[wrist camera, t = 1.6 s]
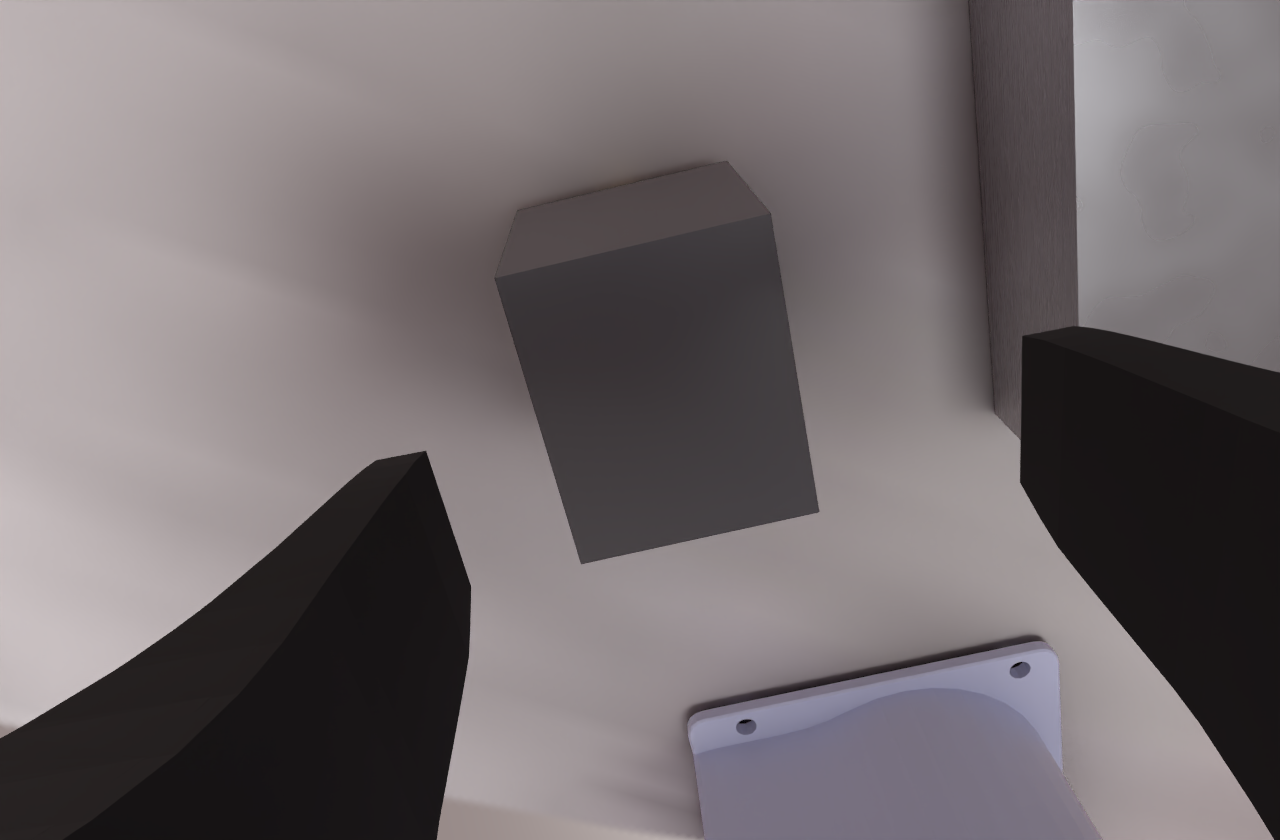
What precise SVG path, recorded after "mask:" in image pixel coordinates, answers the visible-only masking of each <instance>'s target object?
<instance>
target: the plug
mask: <svg viewBox="0 0 1280 840" xmlns="http://www.w3.org/2000/svg"><path fill="white" fill-rule="evenodd" d="M495 281H496V284H497V288H498V291H499V294H500V298H501V301H502V304H503V308H504V311H505V314H506V317H507V321H508V324H509V327H510V331H511V334H512V337H513V341H514V344H515V347H516V350H517V354H518V357H519V360H520V364H521V367H522V370H523V374H524V377H525V380H526V384H527V387H528V390H529V393H530V397H531V400H532V403H533V407H534V410H535V413H536V417H537V420H538V423H539V427H540V430H541V433H542V436H543V440H544V443H545V446H546V450H547V453H548V456H549V460H550V463H551V466H552V469H553V473H554V476H555V479H556V483H557V486H558V489H559V493H560V496H561V499H562V503H563V506H564V509H565V512H566V516H567V519H568V522H569V526H570V529H571V532H572V536H573V539H574V542H575V545H576V549H577V552H578V555H579V559H580V562H581V564H584V563H589V562H593V561H598V560H603V559H607V558H612V557H616V556H621V555H626V554H630V553H635V552H639V551H644V550H648V549H653V548H658V547H662V546H667V545H671V544H676V543H680V542H685V541H690V540H694V539H699V538H703V537H708V536H712V535H717V534H722V533H726V532H731V531H735V530H740V529H745V528H749V527H754V526H758V525H763V524H767V523H772V522H777V521H781V520H786V519H790V518H795V517H799V516H804V515H809V514H813V513H818V512H819V508H818V501H817V495H816V489H815V483H814V477H813V471H812V465H811V459H810V452H809V446H808V440H807V434H806V428H805V422H804V416H803V409H802V403H801V397H800V391H799V385H798V379H797V373H796V367H795V360H794V354H793V348H792V342H791V336H790V330H789V324H788V317H787V311H786V305H785V299H784V293H783V287H782V281H781V275H780V268H779V262H778V256H777V250H776V244H775V238H774V232H773V225H772V219H771V213H770V212H769V211H768V210H767V209H766V207H765V206H764V205H763V204H762V202H761V201H760V200H759V199H758V198H757V196H756V195H755V194H754V193H753V192H752V190H751V189H750V188H749V187H748V186H747V184H746V183H745V182H744V181H743V180H742V178H741V177H740V176H739V175H738V174H737V172H736V171H735V170H734V169H733V168H732V166H731V165H730V164H729V163H728V162H727V161H723V162H719V163H715V164H711V165H707V166H702V167H698V168H694V169H690V170H686V171H681V172H677V173H673V174H669V175H665V176H660V177H656V178H652V179H648V180H644V181H640V182H635V183H631V184H627V185H623V186H619V187H614V188H610V189H606V190H602V191H598V192H593V193H589V194H585V195H581V196H577V197H572V198H568V199H564V200H560V201H556V202H551V203H547V204H543V205H539V206H535V207H530V208H526V209H522V210H518V211H517V213H516V216H515V219H514V222H513V225H512V228H511V231H510V234H509V237H508V240H507V243H506V246H505V249H504V252H503V255H502V258H501V261H500V264H499V267H498V270H497V273H496V275H495Z"/></svg>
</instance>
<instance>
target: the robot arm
mask: <svg viewBox="0 0 1280 840" xmlns="http://www.w3.org/2000/svg"><path fill="white" fill-rule="evenodd" d="M1020 483H1021V485H1022V487H1023V488H1024V490H1025V492H1026V494H1027V496H1028V497H1029V499H1030V501H1031V503H1032V504H1033V506H1034V508H1035V510H1036V512H1037V513H1038V515H1039V517H1040V519H1041V520H1042V522H1043V523H1044V525H1045V527H1046V528H1047V530H1048V532H1049V533H1050V535H1051V536H1052V538H1053V540H1054V541H1055V543H1056V545H1057V546H1058V548H1059V549H1060V550H1061V551H1062V553H1063V554H1064V555H1065V556H1066V558H1067V559H1068V560H1069V562H1070V563H1071V564H1072V565H1073V567H1074V568H1075V569H1076V570H1077V572H1078V573H1079V574H1080V575H1081V577H1082V578H1083V579H1084V580H1085V581H1086V583H1087V584H1088V585H1089V586H1090V588H1091V589H1092V590H1093V591H1094V593H1095V594H1096V595H1097V596H1098V598H1099V599H1100V600H1101V601H1102V602H1103V604H1104V605H1105V606H1106V607H1107V608H1108V610H1109V611H1110V612H1111V613H1112V614H1113V616H1114V617H1115V618H1116V619H1117V621H1118V622H1119V623H1120V624H1121V625H1122V627H1123V628H1124V629H1125V630H1126V631H1127V633H1128V634H1129V635H1130V636H1131V637H1132V639H1133V640H1134V641H1135V642H1136V644H1137V645H1138V646H1139V647H1140V648H1141V650H1142V651H1143V652H1144V653H1145V654H1146V656H1147V657H1148V658H1149V659H1150V661H1151V662H1152V663H1153V664H1154V665H1155V667H1156V668H1157V669H1158V670H1159V671H1160V673H1161V674H1162V675H1163V676H1164V677H1165V679H1166V680H1167V681H1168V682H1169V684H1170V685H1171V686H1172V687H1173V688H1174V690H1175V691H1176V692H1177V694H1178V695H1179V696H1180V698H1181V699H1182V700H1183V702H1184V703H1185V704H1186V706H1187V707H1188V708H1189V710H1190V711H1191V712H1192V714H1193V715H1194V716H1195V718H1196V719H1197V720H1198V722H1199V723H1200V725H1201V726H1202V728H1203V729H1204V731H1205V732H1206V734H1207V735H1208V737H1209V738H1210V740H1211V741H1212V743H1213V744H1214V746H1215V747H1216V749H1217V751H1218V752H1219V754H1220V755H1221V757H1222V758H1223V760H1224V761H1225V763H1226V764H1227V766H1228V767H1229V769H1230V770H1231V772H1232V773H1233V775H1234V776H1235V778H1236V779H1237V781H1238V783H1239V784H1240V786H1241V787H1242V789H1243V790H1244V792H1245V793H1246V795H1247V796H1248V798H1249V799H1250V801H1251V802H1252V804H1253V806H1254V807H1255V809H1256V811H1257V812H1258V814H1259V815H1260V817H1261V819H1262V820H1263V822H1264V824H1265V825H1266V827H1267V828H1268V830H1269V832H1270V833H1271V835H1272V837H1273V838H1274V840H1280V372H1275V371H1271V370H1267V369H1263V368H1258V367H1254V366H1250V365H1246V364H1242V363H1238V362H1234V361H1230V360H1226V359H1222V358H1218V357H1214V356H1210V355H1206V354H1202V353H1198V352H1194V351H1190V350H1186V349H1182V348H1178V347H1174V346H1170V345H1166V344H1163V343H1159V342H1155V341H1151V340H1147V339H1143V338H1138V337H1134V336H1130V335H1125V334H1121V333H1116V332H1112V331H1107V330H1101V329H1095V328H1089V327H1080V326H1071V327H1066V328H1060V329H1055V330H1050V331H1045V332H1040V333H1034V334H1029V335H1024V336H1022V387H1021V460H1020ZM470 613H471V585H470V582H469V579H468V576H467V573H466V570H465V567H464V564H463V561H462V558H461V555H460V552H459V549H458V546H457V543H456V540H455V537H454V534H453V531H452V528H451V525H450V522H449V519H448V516H447V513H446V510H445V507H444V504H443V501H442V498H441V495H440V492H439V489H438V486H437V483H436V480H435V477H434V474H433V471H432V468H431V465H430V462H429V459H428V456H427V453H426V451H422V452H417V453H412V454H407V455H401V456H396V457H391V458H386V459H381V460H376V461H375V462H373V463H372V464H370V465H369V466H367V467H366V468H365V469H364V470H362V471H361V472H360V473H359V474H357V475H356V476H355V477H354V478H353V479H351V480H350V481H349V482H348V483H347V484H346V485H345V486H343V487H342V488H341V489H340V490H339V491H338V492H337V493H336V494H335V495H333V496H332V497H331V498H330V499H329V500H328V501H327V502H326V503H325V504H324V505H323V506H321V507H320V508H319V509H318V510H317V511H316V512H315V513H314V514H313V515H312V516H310V517H309V518H308V519H307V520H306V521H305V522H304V523H303V524H302V525H300V526H299V527H298V528H297V529H296V530H295V531H294V532H293V533H292V534H291V535H289V536H288V537H287V538H286V539H285V540H284V541H283V542H282V543H281V544H280V545H278V546H277V547H276V548H275V549H274V550H273V551H271V552H270V553H269V554H268V555H267V556H265V557H264V558H263V559H262V560H261V561H259V562H258V563H257V564H256V565H255V566H253V567H252V568H251V569H250V570H249V571H247V572H246V573H245V574H244V575H243V576H241V577H240V578H239V579H238V580H237V581H235V582H234V583H233V584H232V585H231V586H229V587H228V588H227V589H226V590H225V591H223V592H222V593H221V594H220V595H219V596H217V597H216V598H215V599H214V600H213V601H211V602H210V603H209V604H208V605H206V606H205V607H204V608H202V609H201V610H200V611H198V612H197V613H196V614H195V615H193V616H192V617H191V618H189V619H188V620H187V621H185V622H184V623H182V624H181V625H180V626H178V627H177V628H176V629H174V630H173V631H172V632H170V633H169V634H167V635H166V636H164V637H163V638H162V639H160V640H159V641H157V642H156V643H154V644H153V645H151V646H150V647H149V648H147V649H146V650H144V651H143V652H141V653H140V654H138V655H137V656H136V657H134V658H133V659H131V660H130V661H128V662H127V663H125V664H124V665H122V666H121V667H119V668H118V669H116V670H115V671H113V672H112V673H110V674H108V675H107V676H105V677H103V678H102V679H100V680H98V681H97V682H95V683H93V684H92V685H90V686H88V687H87V688H85V689H83V690H82V691H80V692H78V693H77V694H75V695H73V696H72V697H70V698H68V699H67V700H65V701H63V702H62V703H60V704H58V705H57V706H55V707H54V708H52V709H50V710H49V711H47V712H45V713H44V714H42V715H40V716H39V717H37V718H35V719H34V720H32V721H30V722H29V723H27V724H25V725H24V726H22V727H20V728H18V729H17V730H15V731H13V732H11V733H9V734H8V735H6V736H4V737H2V738H0V840H437V833H438V826H439V820H440V814H441V808H442V803H443V798H444V792H445V787H446V782H447V776H448V771H449V765H450V760H451V754H452V749H453V744H454V738H455V733H456V727H457V722H458V716H459V711H460V705H461V700H462V694H463V688H464V682H465V677H466V671H467V665H468V658H469V641H470ZM1018 662H1022V663H1021V664H1020V665H1019V666H1017V667H1015V668H1011V667H1012V666H1013V665H1014V664H1016V663H1018ZM744 719H751V722H748V723H746V724H740V723H739V721H741V720H744ZM687 731H688V738H689V742H690V745H691V749H692V753H693V757H694V765H695V772H696V779H697V787H698V794H699V801H700V809H701V816H702V823H703V830H704V838H705V840H1103V839H1102V837H1101V836H1100V834H1099V832H1098V831H1097V829H1096V827H1095V826H1094V824H1093V823H1092V821H1091V819H1090V818H1089V816H1088V814H1087V813H1086V811H1085V809H1084V808H1083V806H1082V804H1081V803H1080V801H1079V800H1078V798H1077V796H1076V795H1075V793H1074V791H1073V790H1072V788H1071V786H1070V785H1069V783H1068V781H1067V780H1066V778H1065V776H1064V775H1063V765H1062V736H1061V706H1060V677H1059V659H1058V656H1057V654H1056V653H1055V651H1054V650H1053V648H1052V647H1051V646H1050V645H1049V644H1048V643H1045V642H1042V641H1034V642H1028V643H1024V644H1019V645H1014V646H1009V647H1005V648H1000V649H995V650H990V651H985V652H981V653H976V654H971V655H966V656H962V657H957V658H952V659H947V660H942V661H938V662H933V663H928V664H923V665H919V666H914V667H909V668H904V669H899V670H895V671H890V672H885V673H880V674H876V675H871V676H866V677H861V678H856V679H852V680H847V681H842V682H837V683H832V684H828V685H823V686H818V687H813V688H809V689H804V690H799V691H794V692H789V693H785V694H780V695H775V696H770V697H766V698H761V699H756V700H751V701H746V702H742V703H737V704H732V705H727V706H723V707H718V708H713V709H708V710H703V711H700V712H698V713H695V714H694V715H693V716H692V717H690V719H689V721H688V723H687Z"/></svg>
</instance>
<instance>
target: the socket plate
mask: <svg viewBox="0 0 1280 840" xmlns="http://www.w3.org/2000/svg"><path fill="white" fill-rule="evenodd" d="M969 11H970V27H971V42H972V58H973V74H974V90H975V106H976V122H977V138H978V153H979V169H980V185H981V201H982V217H983V233H984V248H985V264H986V280H987V296H988V312H989V328H990V344H991V359H992V375H993V391H994V407H995V414H996V415H997V416H998V417H999V418H1000V419H1001V420H1002V421H1003V422H1004V423H1005V424H1006V425H1007V426H1008V427H1009V429H1010V430H1011V431H1012V432H1013V433H1014V434H1015V435H1016V436H1017V437H1018V438H1019V439H1020V440H1021V387H1022V336H1024V335H1029V334H1034V333H1040V332H1045V331H1050V330H1055V329H1060V328H1066V327H1071V326H1080V327H1089V328H1095V329H1101V330H1107V331H1112V332H1116V333H1121V334H1125V335H1130V336H1134V337H1138V338H1143V339H1147V340H1151V341H1155V342H1159V343H1163V344H1166V345H1170V346H1174V347H1178V348H1182V349H1186V350H1190V351H1194V352H1198V353H1202V354H1206V355H1210V356H1214V357H1218V358H1222V359H1226V360H1230V361H1234V362H1238V363H1242V364H1246V365H1250V366H1254V367H1258V368H1263V369H1267V370H1271V371H1275V372H1280V0H969Z"/></svg>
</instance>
